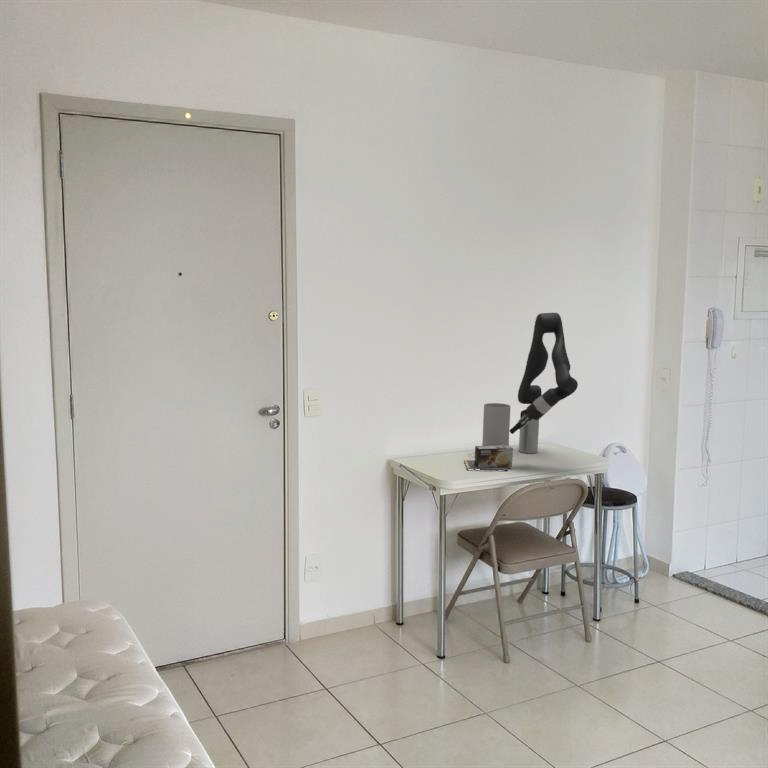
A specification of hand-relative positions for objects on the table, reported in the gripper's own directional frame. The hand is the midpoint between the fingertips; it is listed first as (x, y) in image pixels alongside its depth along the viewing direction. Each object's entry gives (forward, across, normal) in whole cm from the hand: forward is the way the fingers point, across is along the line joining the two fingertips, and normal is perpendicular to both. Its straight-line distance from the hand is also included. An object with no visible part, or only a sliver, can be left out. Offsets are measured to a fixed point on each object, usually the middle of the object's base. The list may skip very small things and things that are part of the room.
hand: (510, 432), depth 359 cm
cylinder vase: (+18, -17, +5) cm, 25 cm away
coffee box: (+7, +2, +8) cm, 11 cm away
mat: (+18, +4, +4) cm, 19 cm away
